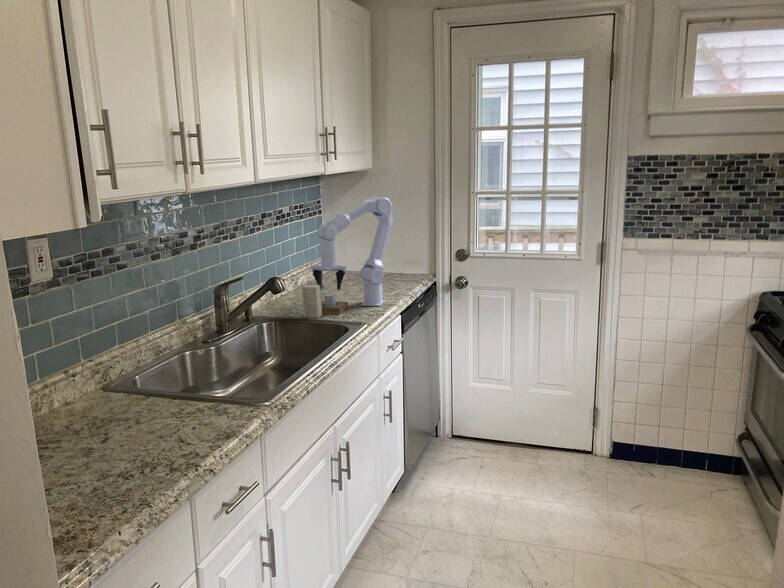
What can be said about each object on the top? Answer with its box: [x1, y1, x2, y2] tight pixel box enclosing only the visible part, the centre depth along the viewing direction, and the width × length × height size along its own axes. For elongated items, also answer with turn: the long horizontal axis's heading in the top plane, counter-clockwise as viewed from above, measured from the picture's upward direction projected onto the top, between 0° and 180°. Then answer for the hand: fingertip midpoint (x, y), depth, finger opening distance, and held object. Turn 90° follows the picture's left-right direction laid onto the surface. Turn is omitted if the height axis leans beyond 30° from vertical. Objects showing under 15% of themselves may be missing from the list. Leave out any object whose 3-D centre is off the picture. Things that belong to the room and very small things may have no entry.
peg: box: [324, 293, 337, 306], centre depth 256 cm, size 4×4×6 cm
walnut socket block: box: [321, 300, 349, 315], centre depth 257 cm, size 11×11×2 cm
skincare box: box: [300, 284, 323, 319], centre depth 247 cm, size 6×4×12 cm
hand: (329, 289), depth 255 cm, fingers open, 7 cm apart
